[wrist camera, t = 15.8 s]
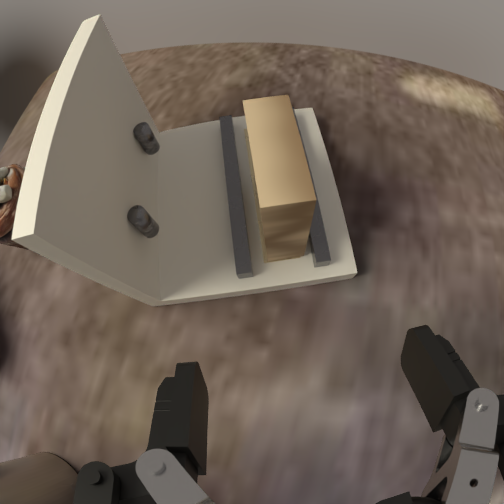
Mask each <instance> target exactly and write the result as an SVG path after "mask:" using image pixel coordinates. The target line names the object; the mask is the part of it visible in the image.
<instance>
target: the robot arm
mask: <svg viewBox="0 0 504 504" xmlns="http://www.w3.org/2000/svg"><path fill="white" fill-rule="evenodd" d="M401 366H402V369H403V371H404V373H405V375H406V377H407V379H408V381H409V383H410V385H411V387H412V389H413V391H414V393H415V395H416V397H417V399H418V401H419V403H420V405H421V408H422V410H423V412H424V414H425V416H426V418H427V420H428V422H429V424H430V427H431V429H432V431H433V432H436V431H439V430H441V429H443V431H444V433H445V434H444V436H443V439H442V442H441V446H440V449H439V453H438V456H437V459H436V462H435V466H434V469H433V472H432V475H431V477H430V479H429V481H428V483H427V484H426V486H425V488H424V490H423V492H422V494H421V497H411V496H410V493H409V492H406V493H403V494H400V495H397V496H394V497H391V498H388V499H385V500H381V501H379V502H378V503H376V504H489V502H490V498H491V494H492V490H493V485H494V481H495V476H496V471H497V466H498V467H499V469H500V472H501V475H502V477H503V480H504V395H495V393H494V392H492V391H491V390H489V389H486V388H480V387H479V386H478V384H477V383H476V381H475V380H474V378H473V376H472V375H471V373H470V372H469V370H468V369H467V367H466V366H465V364H464V363H463V361H462V360H460V357H459V355H458V354H457V353H455V350H454V348H453V347H452V345H451V344H450V342H449V341H447V340H446V339H445V338H443V337H442V336H440V335H436V336H435V335H434V333H433V332H432V330H431V329H430V328H429V326H427V325H423V326H419V327H415V328H411V329H409V330H408V331H407V335H406V339H405V343H404V347H403V350H402V354H401ZM207 427H208V391H207V387H206V384H205V381H204V378H203V375H202V372H201V369H200V366H199V363H198V362H186V363H177V365H176V371H175V377H166V378H165V379H164V380H163V382H162V383H161V385H160V386H159V388H158V391H157V396H156V402H155V407H154V413H153V419H152V425H151V430H150V436H149V443H148V447H147V450H146V452H144V453H143V454H142V455H141V456H140V457H139V458H138V460H136V461H135V462H132V463H129V464H125V465H120V466H115V467H109V466H108V465H106V464H105V463H102V462H98V461H95V462H90V463H88V464H86V465H84V466H83V467H82V468H81V470H80V471H79V473H78V474H77V473H76V472H75V471H74V469H73V468H72V467H71V466H70V465H69V464H67V463H66V462H65V461H64V460H62V459H61V458H59V457H58V456H56V455H53V454H51V453H47V452H40V453H36V454H33V455H29V456H26V457H22V458H18V459H14V460H10V461H6V462H1V463H0V504H215V503H214V502H213V501H212V500H211V499H210V498H209V497H208V496H207V495H206V494H205V493H204V491H203V490H202V489H201V488H200V487H199V486H198V485H197V477H198V475H206V458H207Z"/></svg>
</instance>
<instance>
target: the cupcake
mask: <svg viewBox="0 0 504 504" xmlns="http://www.w3.org/2000/svg"><path fill="white" fill-rule="evenodd" d="M24 171H25V167H23V168H22V167H21V166H20V165H17V164H12V165H10V166H7V167H2V168H0V244H4V245H9V246H15V247H19V248H24V249H28V248H26V247H24V246H22V245H20V244H18V243H17V242H15V241H13V240H11V239H12V232H13V226H14V220H15V214H16V208H17V203H18V198H19V193H20V189H21V184H22V180H23V176H24Z"/></svg>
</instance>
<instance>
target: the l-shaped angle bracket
mask: <svg viewBox="0 0 504 504" xmlns="http://www.w3.org/2000/svg"><path fill="white" fill-rule="evenodd" d="M292 109H293V113H294V116H295V120H296V123H297V127H298V130H299V134H300V138H301V141H302V145H303V149H304V152H305V156H306V160H307V164H308V168H309V172H310V176H311V180H312V184H313V188H314V192H315V196H316V204H315V209H314V214H313V218H312V223H311V227H310V232H309V236H308V240H307V245H306V249H305V253H304V256H300V257H293V258H287V259H280V260H273V261H267V254H266V248H265V241H264V235H263V228H262V222H261V215H260V209H259V202H258V196H257V190H256V183H255V177H254V170H253V164H252V157H251V151H250V144H249V138H248V131H247V125H246V119H245V116H240V117H234V118H232V116H231V115H229V116H223V117H219V118H220V120H216V121H211V122H205V123H200V124H195V125H190V126H185V127H181V128H176V129H172V130H167V131H163V132H159V131H158V129H157V127H156V125H155V123H154V121H153V119H152V117H151V116H150V114H149V112H148V110H147V108H146V106H145V104H144V102H143V100H142V98H141V96H140V94H139V92H138V90H137V88H136V86H135V84H134V82H133V80H132V78H131V76H130V74H129V72H128V70H127V68H126V66H125V64H124V62H123V60H122V58H121V56H120V54H119V52H118V50H117V48H116V46H115V44H114V42H113V39H112V38H111V35H110V33H109V31H108V29H107V27H106V25H105V23H104V21H103V19H102V17H101V15H100V14H99V15H97V16H94V17H92V18H90V19H87V20H85V21H83V23H82V24H81V26H80V28H79V30H78V32H77V34H76V36H75V38H74V40H73V42H72V43H71V46H70V48H69V50H68V52H67V54H66V56H65V58H64V60H63V62H62V65H61V67H60V69H59V71H58V73H57V76H56V78H55V81H54V83H53V85H52V88H51V90H50V93H49V95H48V98H47V101H46V103H45V106H44V109H43V112H42V114H41V117H40V120H39V123H38V126H37V129H36V132H35V136H34V139H33V142H32V146H31V149H30V153H29V156H28V160H27V164H26V167H25V171H24V176H23V180H22V184H21V189H20V193H19V198H18V203H17V208H16V214H15V220H14V226H13V232H12V239H11V240H13V241H15V242H17V243H18V244H20V245H22V246H24V247H26V248H28V249H30V250H32V251H34V252H36V253H38V254H39V255H41V256H43V257H45V258H47V259H49V260H51V261H53V262H55V263H57V264H59V265H61V266H64V267H66V268H68V269H70V270H72V271H74V272H76V273H78V274H80V275H82V276H85V277H87V278H89V279H91V280H93V281H95V282H98V283H100V284H102V285H104V286H106V287H109V288H111V289H113V290H115V291H118V292H120V293H122V294H125V295H127V296H129V297H132V298H134V299H136V300H139V301H141V302H144V303H146V304H148V305H151V306H162V305H171V304H179V303H188V302H196V301H204V300H212V299H219V298H227V297H234V296H242V295H249V294H256V293H263V292H270V291H277V290H283V289H290V288H296V287H303V286H309V285H315V284H322V283H328V282H334V281H340V280H346V279H351V278H353V277H354V276H355V275H356V274H357V269H356V264H355V259H354V255H353V250H352V246H351V242H350V237H349V233H348V229H347V225H346V221H345V217H344V213H343V209H342V205H341V201H340V198H339V194H338V190H337V187H336V183H335V179H334V176H333V172H332V169H331V165H330V162H329V159H328V155H327V152H326V149H325V145H324V142H323V139H322V136H321V133H320V129H319V126H318V123H317V120H316V117H315V114H314V111H313V108H303V109H294V108H293V107H292Z"/></svg>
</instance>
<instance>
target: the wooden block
mask: <svg viewBox="0 0 504 504" xmlns="http://www.w3.org/2000/svg"><path fill="white" fill-rule="evenodd" d="M243 106H244V112H245V119H246V125H247V131H248V138H249V144H250V151H251V157H252V164H253V170H254V177H255V183H256V190H257V196H258V202H259V209H260V215H261V222H262V228H263V235H264V241H265V248H266V254H267V261H273V260H280V259H287V258H293V257H300V256H304V253H305V249H306V245H307V240H308V236H309V232H310V227H311V223H312V218H313V214H314V209H315V204H316V196H315V192H314V188H313V184H312V180H311V176H310V172H309V168H308V164H307V160H306V156H305V152H304V149H303V145H302V141H301V138H300V134H299V130H298V127H297V123H296V120H295V116H294V113H293V109H292V106H291V103H290V99H289V96H288V95H281V96H273V97H265V98H257V99H250V100H243Z"/></svg>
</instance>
